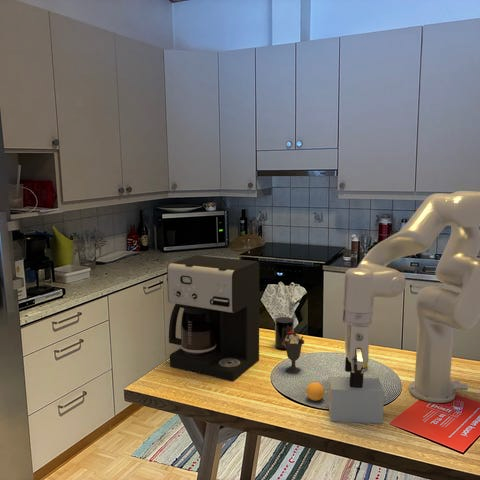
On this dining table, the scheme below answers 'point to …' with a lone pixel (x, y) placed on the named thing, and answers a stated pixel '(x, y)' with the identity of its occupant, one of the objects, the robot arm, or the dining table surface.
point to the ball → (315, 391)
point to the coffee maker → (215, 315)
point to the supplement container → (282, 331)
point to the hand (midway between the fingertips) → (353, 379)
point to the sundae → (293, 349)
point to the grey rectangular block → (356, 401)
